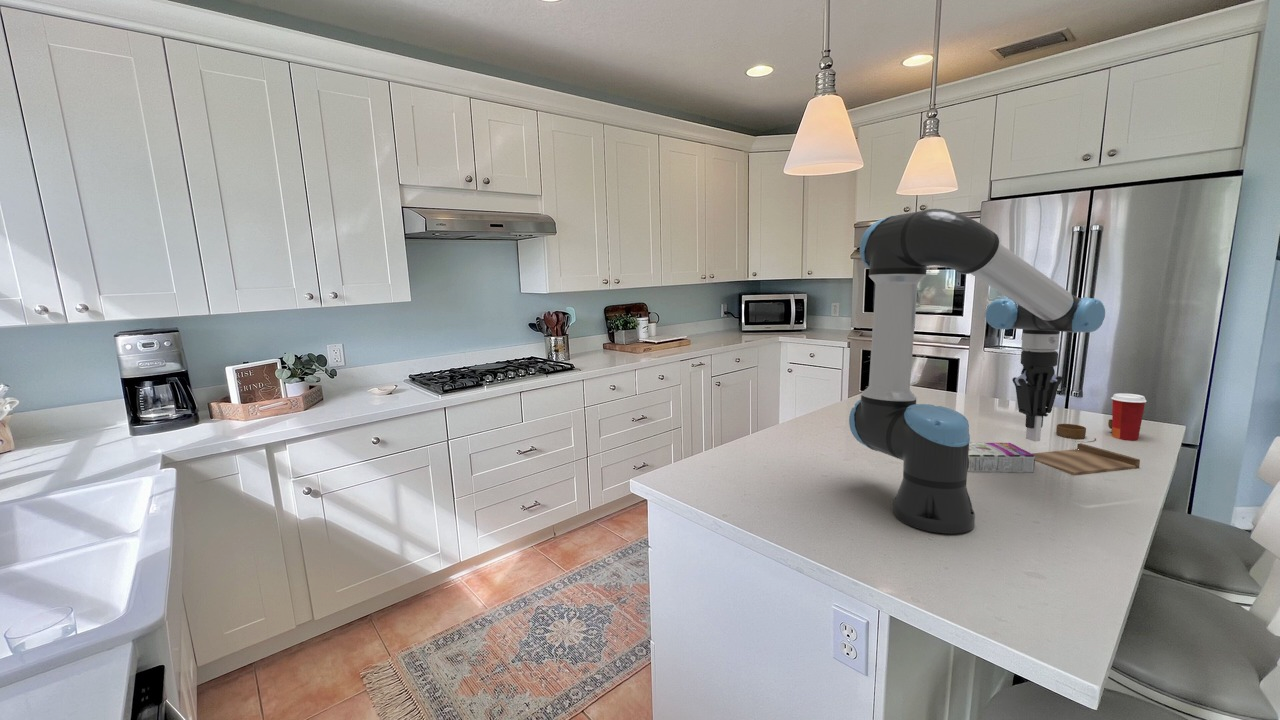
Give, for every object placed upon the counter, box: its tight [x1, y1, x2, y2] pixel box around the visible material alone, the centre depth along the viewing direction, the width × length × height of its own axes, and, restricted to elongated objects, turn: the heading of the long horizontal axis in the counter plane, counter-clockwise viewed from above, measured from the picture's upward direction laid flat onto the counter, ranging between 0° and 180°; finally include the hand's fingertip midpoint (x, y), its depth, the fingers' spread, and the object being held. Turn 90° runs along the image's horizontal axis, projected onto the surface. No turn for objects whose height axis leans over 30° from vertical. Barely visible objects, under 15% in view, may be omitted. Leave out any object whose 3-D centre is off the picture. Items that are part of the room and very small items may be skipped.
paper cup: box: [1110, 392, 1148, 442], centre depth 155 cm, size 8×8×14 cm
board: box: [1031, 442, 1141, 476], centre depth 139 cm, size 20×15×2 cm
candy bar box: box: [967, 442, 1036, 474], centre depth 138 cm, size 11×5×16 cm
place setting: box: [1056, 418, 1112, 443], centre depth 157 cm, size 18×20×6 cm
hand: (1032, 439), depth 135 cm, fingers closed
